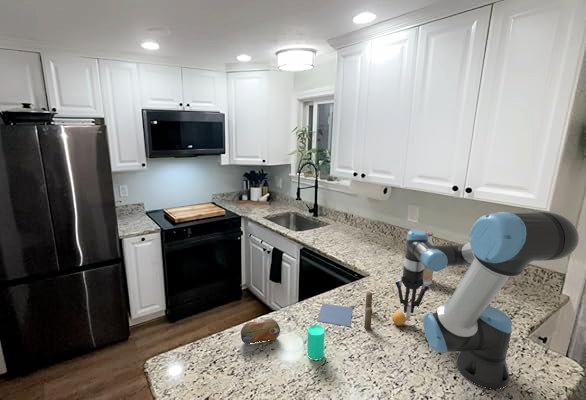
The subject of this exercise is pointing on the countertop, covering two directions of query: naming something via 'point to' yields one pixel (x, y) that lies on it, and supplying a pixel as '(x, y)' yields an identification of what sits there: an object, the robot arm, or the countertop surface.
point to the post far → (368, 300)
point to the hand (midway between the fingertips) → (407, 318)
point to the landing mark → (335, 314)
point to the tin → (260, 331)
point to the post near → (368, 318)
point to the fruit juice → (427, 272)
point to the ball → (398, 318)
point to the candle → (315, 341)
